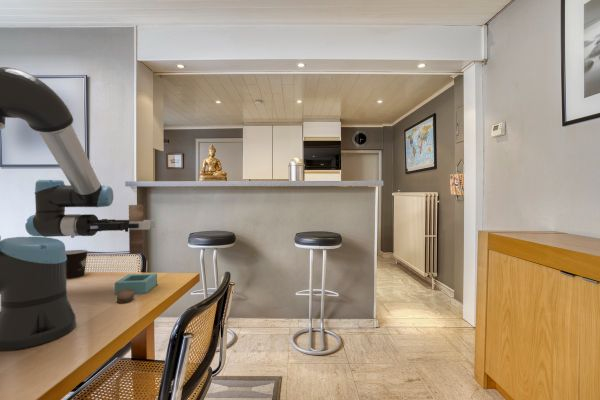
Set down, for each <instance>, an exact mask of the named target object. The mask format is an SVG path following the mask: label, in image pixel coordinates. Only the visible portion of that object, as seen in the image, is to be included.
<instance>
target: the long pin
mask: <svg viewBox="0 0 600 400" xmlns="http://www.w3.org/2000/svg"><path fill="white" fill-rule="evenodd" d="M128 220H129V222H144V220H145V219H144V204H129V205H128ZM144 236H145V231H144V230H129V229H128V239H129V240H128V241H129V242H128V245H129V249H128V251H129V253H128V254H129V255H139V254H143V253H145V237H144Z"/></svg>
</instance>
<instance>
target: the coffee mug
mask: <svg viewBox="0 0 600 400" xmlns="http://www.w3.org/2000/svg"><path fill="white" fill-rule="evenodd" d="M66 256H67V260H66V279H76V278H82V277H83V276H85V273H86V267H87V266H86V264H87V256H88V249H74V250H73V249H72V250H66Z"/></svg>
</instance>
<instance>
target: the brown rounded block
mask: <svg viewBox="0 0 600 400" xmlns="http://www.w3.org/2000/svg"><path fill="white" fill-rule="evenodd" d="M134 295H135V294H134V290H133V289H123V290H119V291H117V295H116V303H119V304H126V303H131V302H132V301H134Z"/></svg>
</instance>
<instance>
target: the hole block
mask: <svg viewBox="0 0 600 400" xmlns="http://www.w3.org/2000/svg"><path fill="white" fill-rule="evenodd" d="M156 284H157V285H158V273H131V274H130V273H129V274H127V275H126V276H124V277H121V278H120V279H119V280H117V281H115V282H114V295H115V296H117V291H119V290H123V289H133V290H134V294H133V295H136V294H137V295H138V294H139V295H140V294H147V293H149V292H150V291H151V290H152V289H153V288H154V287H156V286H157V285H156Z"/></svg>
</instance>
